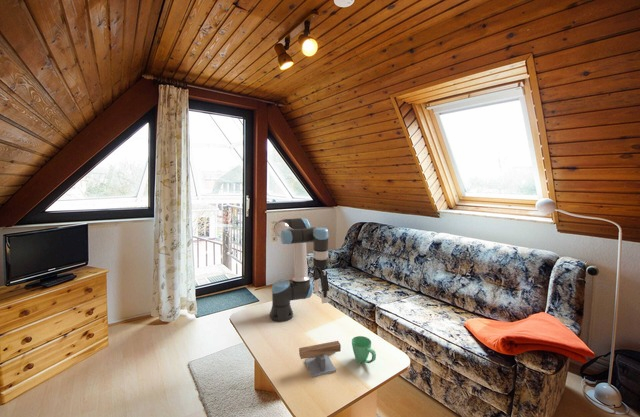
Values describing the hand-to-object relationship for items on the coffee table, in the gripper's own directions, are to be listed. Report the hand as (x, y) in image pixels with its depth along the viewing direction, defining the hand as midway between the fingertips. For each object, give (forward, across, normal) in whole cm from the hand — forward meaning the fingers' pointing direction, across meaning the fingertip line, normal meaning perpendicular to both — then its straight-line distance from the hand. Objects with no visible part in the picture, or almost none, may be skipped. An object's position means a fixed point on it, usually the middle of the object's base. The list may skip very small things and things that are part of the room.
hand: (320, 296), depth 151 cm
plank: (+22, +13, -4) cm, 26 cm away
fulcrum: (+29, +14, -4) cm, 33 cm away
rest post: (+29, +5, +2) cm, 30 cm away
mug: (+29, +18, +18) cm, 39 cm away
